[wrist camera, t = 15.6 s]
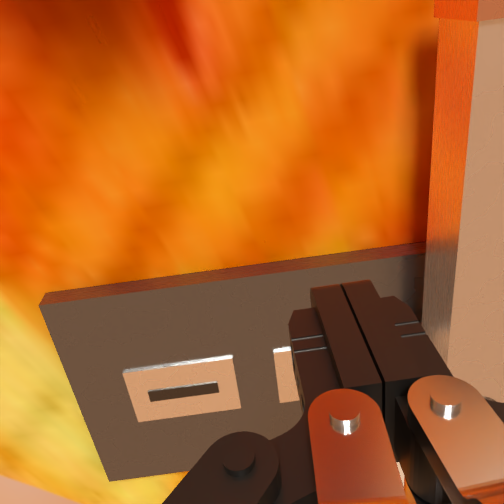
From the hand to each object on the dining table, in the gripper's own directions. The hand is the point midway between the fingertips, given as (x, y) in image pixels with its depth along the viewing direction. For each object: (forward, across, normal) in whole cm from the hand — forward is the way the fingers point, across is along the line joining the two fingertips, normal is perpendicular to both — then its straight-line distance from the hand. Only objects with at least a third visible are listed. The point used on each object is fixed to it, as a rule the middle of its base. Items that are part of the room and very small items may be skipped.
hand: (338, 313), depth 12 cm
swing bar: (+17, -11, +6) cm, 21 cm away
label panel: (+19, +2, +18) cm, 26 cm away
